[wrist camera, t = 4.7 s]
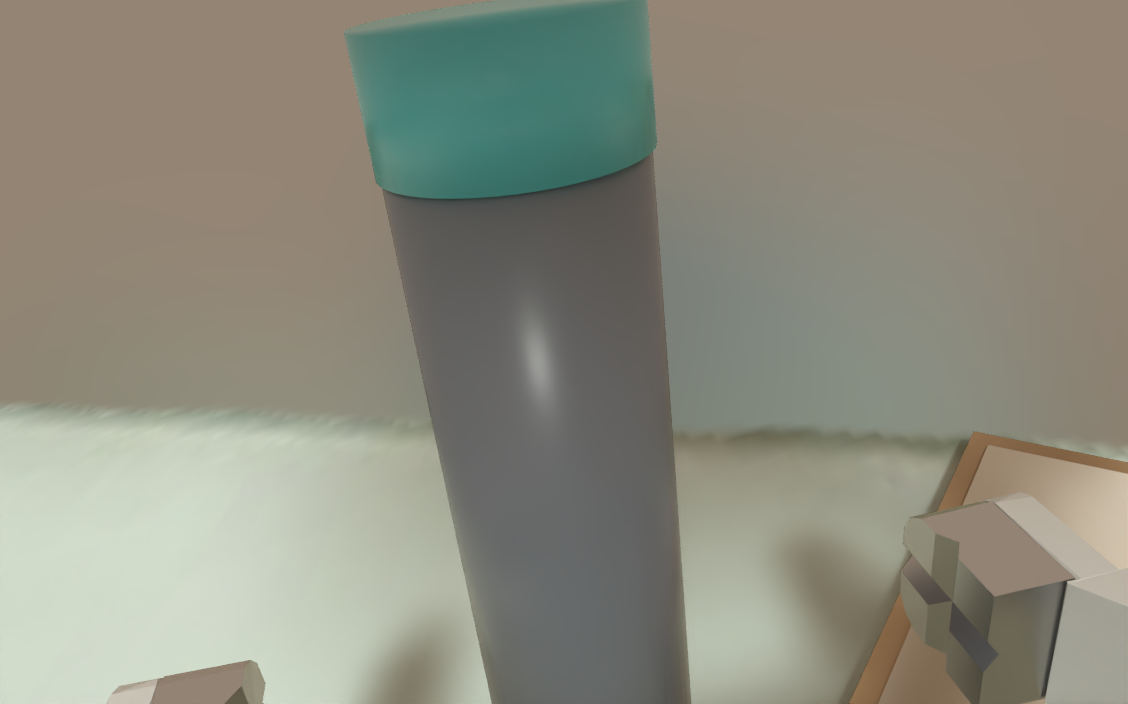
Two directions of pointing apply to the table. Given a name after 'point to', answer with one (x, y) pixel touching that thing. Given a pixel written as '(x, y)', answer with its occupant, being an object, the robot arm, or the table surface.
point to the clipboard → (986, 470)
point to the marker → (539, 329)
